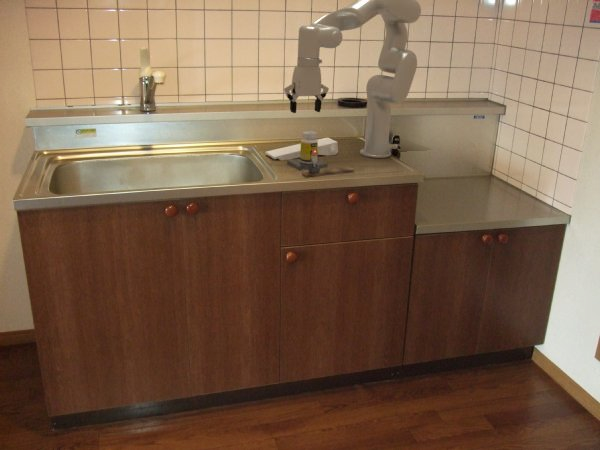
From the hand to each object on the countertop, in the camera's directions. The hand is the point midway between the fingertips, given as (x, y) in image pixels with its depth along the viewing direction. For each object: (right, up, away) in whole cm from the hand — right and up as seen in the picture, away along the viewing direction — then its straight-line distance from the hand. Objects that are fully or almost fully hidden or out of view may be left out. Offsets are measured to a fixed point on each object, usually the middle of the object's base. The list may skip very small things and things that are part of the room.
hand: (305, 111), depth 218 cm
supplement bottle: (+1, -17, +11) cm, 20 cm away
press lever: (+3, -22, -1) cm, 22 cm away
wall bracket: (-1, -13, +25) cm, 28 cm away
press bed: (+1, -18, +11) cm, 21 cm away
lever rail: (+8, -22, +2) cm, 24 cm away
